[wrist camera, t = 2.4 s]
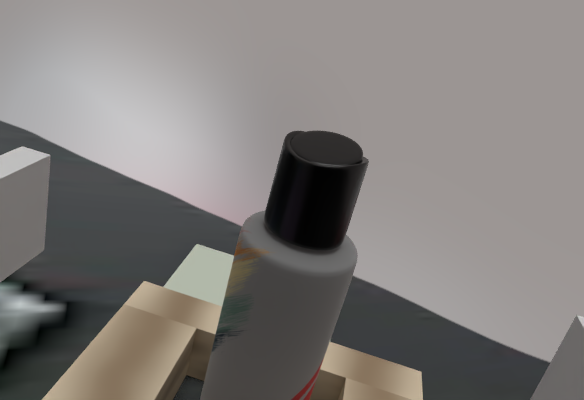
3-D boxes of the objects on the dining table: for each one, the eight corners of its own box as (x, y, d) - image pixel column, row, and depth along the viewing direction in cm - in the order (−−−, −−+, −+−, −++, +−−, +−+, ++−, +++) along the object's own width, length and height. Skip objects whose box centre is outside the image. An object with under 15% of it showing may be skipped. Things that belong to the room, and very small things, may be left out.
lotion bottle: (302, 465, 32) (415, 158, 24) (236, 526, 28) (347, 177, 20) (235, 405, 35) (316, 113, 27) (166, 453, 31) (238, 120, 23)
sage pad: (145, 314, 41) (146, 308, 41) (195, 249, 51) (196, 243, 51) (323, 373, 40) (325, 367, 40) (338, 295, 50) (340, 289, 50)
